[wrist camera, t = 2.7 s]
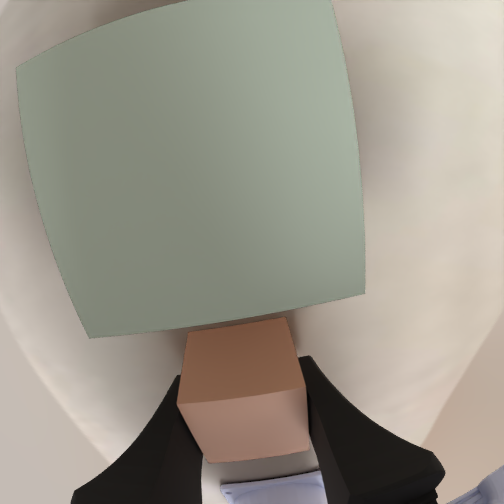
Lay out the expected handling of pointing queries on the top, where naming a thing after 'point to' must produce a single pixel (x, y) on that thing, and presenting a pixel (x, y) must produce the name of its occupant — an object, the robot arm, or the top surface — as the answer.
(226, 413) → the terracotta block
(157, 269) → the tower block top
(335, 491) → the robot arm
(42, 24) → the top surface
